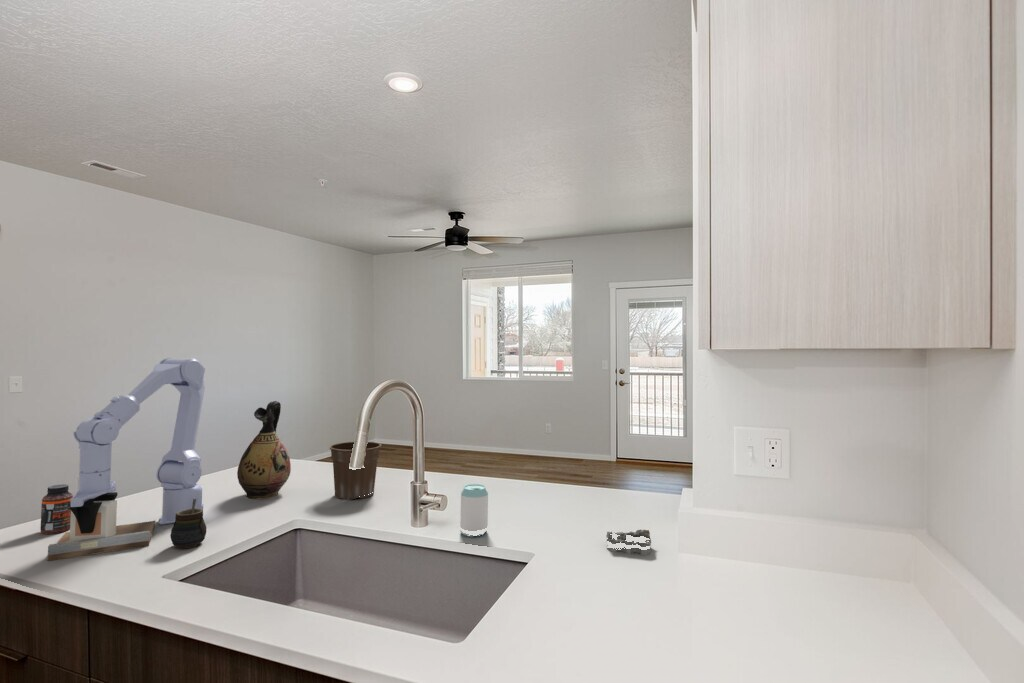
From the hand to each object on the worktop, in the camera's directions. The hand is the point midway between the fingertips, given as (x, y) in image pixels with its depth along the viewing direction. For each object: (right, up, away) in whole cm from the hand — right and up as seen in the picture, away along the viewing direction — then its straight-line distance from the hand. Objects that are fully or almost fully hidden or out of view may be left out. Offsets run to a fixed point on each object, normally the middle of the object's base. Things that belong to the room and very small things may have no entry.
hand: (93, 529), depth 117 cm
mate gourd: (+21, -5, +3) cm, 21 cm away
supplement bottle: (-18, -5, +11) cm, 22 cm away
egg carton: (+126, -7, +4) cm, 126 cm away
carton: (0, -2, 0) cm, 2 cm away
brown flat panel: (0, -5, +4) cm, 6 cm away
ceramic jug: (+18, -6, +45) cm, 49 cm away
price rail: (+4, -3, -2) cm, 5 cm away
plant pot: (+47, -6, +46) cm, 66 cm away
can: (+88, -6, +13) cm, 89 cm away
